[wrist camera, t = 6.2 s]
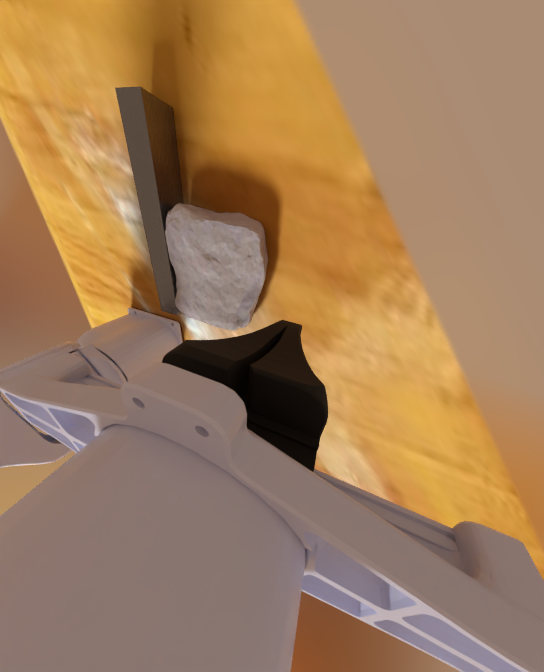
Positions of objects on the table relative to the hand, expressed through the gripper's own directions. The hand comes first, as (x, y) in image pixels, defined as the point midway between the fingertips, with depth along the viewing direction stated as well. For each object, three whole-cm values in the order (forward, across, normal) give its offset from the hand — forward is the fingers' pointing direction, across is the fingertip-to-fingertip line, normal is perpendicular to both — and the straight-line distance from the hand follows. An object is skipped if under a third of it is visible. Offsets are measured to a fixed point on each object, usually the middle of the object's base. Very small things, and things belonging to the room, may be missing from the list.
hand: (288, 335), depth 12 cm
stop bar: (+9, +16, -4) cm, 19 cm away
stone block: (+9, +10, 0) cm, 13 cm away
